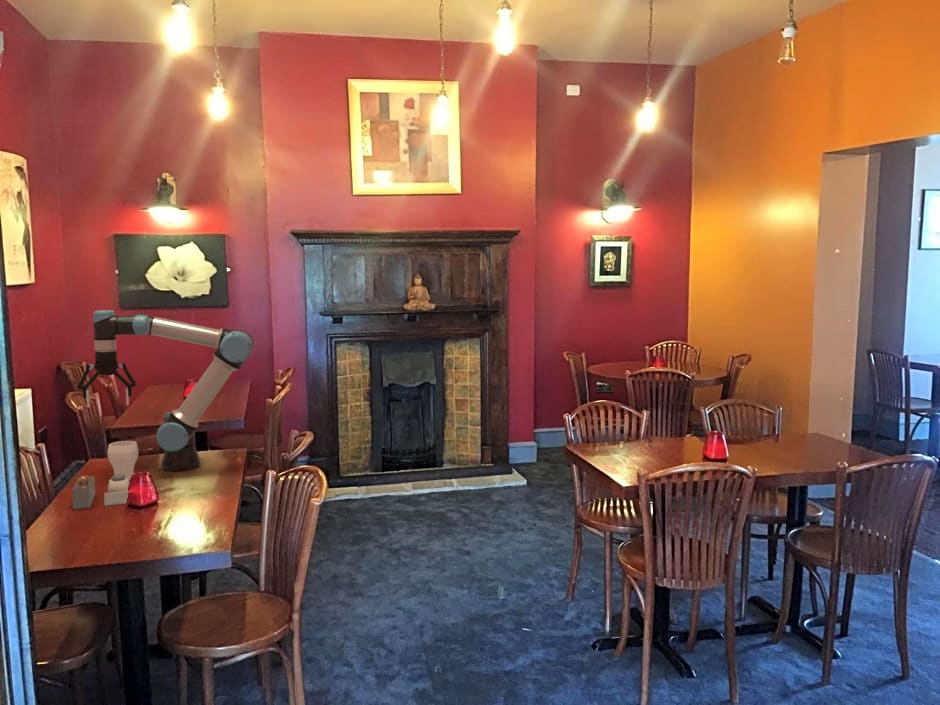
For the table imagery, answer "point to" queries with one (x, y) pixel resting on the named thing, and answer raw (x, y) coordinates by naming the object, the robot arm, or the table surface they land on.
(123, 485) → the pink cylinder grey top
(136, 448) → the cup
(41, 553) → the table surface
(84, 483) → the motor bracket
